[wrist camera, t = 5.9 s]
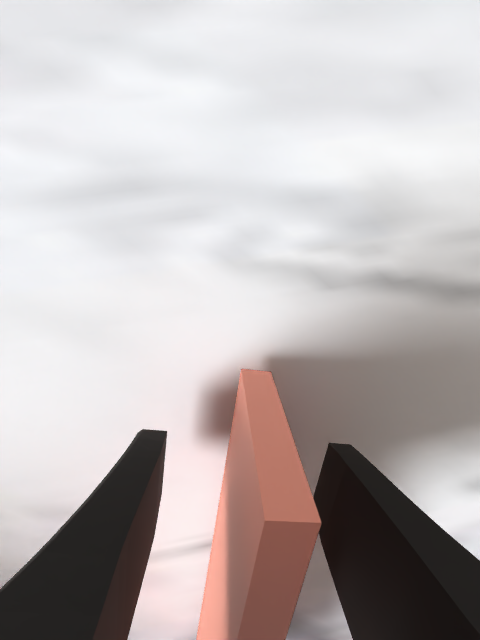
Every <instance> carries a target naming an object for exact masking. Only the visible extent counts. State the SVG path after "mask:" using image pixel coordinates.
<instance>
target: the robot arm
mask: <svg viewBox="0 0 480 640" xmlns="http://www.w3.org/2000/svg"><path fill="white" fill-rule="evenodd" d="M166 438H167V431H159V430H145V429H143V430H141V431H140V432H138V433H137V435H136V437H135V438H134V440H133V441H132V443H131V444H130V445H129V447H128V448H127V450H126V451H125V452H124V454H123V455H122V456H121V458H120V459H119V460H118V462H117V463H116V464H115V465H114V467H113V468H112V469H111V471H110V472H109V473H108V474H107V476H106V477H105V478H104V479H103V480H102V482H101V483H100V484H99V485H98V486H97V488H96V489H95V490H94V491H93V492H92V494H91V495H90V496H89V497H88V498H87V499H86V501H85V502H84V503H83V504H82V505H81V506H80V507H79V509H78V510H77V511H76V512H75V513H74V514H73V515H72V516H71V517H70V518H69V519H68V521H67V522H66V523H65V524H64V525H63V526H62V527H61V528H60V529H59V530H58V531H57V533H56V534H55V535H54V536H53V537H52V538H51V539H50V540H49V541H48V542H47V543H46V544H45V545H44V546H43V547H42V548H41V549H40V550H39V551H38V552H37V554H36V555H35V556H34V557H33V558H32V559H31V560H30V561H29V562H28V563H27V564H26V565H25V566H24V567H23V568H22V569H21V570H20V571H19V572H18V573H17V574H15V575H14V576H13V577H12V578H11V579H10V580H9V581H8V582H7V583H6V584H5V585H4V586H3V587H2V588H1V589H0V640H127V638H128V635H129V631H130V627H131V623H132V619H133V616H134V612H135V608H136V604H137V600H138V597H139V593H140V589H141V585H142V581H143V578H144V574H145V570H146V566H147V562H148V559H149V555H150V551H151V547H152V543H153V539H154V535H155V529H156V523H157V517H158V512H159V506H160V500H161V494H162V483H163V472H164V461H165V449H166ZM313 499H314V502H315V505H316V508H317V511H318V514H319V517H320V520H321V527H320V530H319V535H320V539H321V544H322V547H323V550H324V553H325V556H326V559H327V562H328V566H329V569H330V572H331V575H332V578H333V581H334V584H335V587H336V590H337V593H338V596H339V599H340V602H341V605H342V608H343V611H344V614H345V617H346V620H347V623H348V626H349V629H350V632H351V635H352V638H353V640H480V561H479V560H478V559H477V558H476V557H475V556H473V555H472V554H471V553H470V552H469V551H468V550H466V549H465V548H464V547H463V546H462V545H461V544H459V543H458V542H457V541H456V540H455V539H454V538H452V537H451V536H450V535H449V534H448V533H447V532H445V531H444V530H443V529H442V528H441V527H440V526H439V525H437V524H436V523H435V522H434V521H433V520H432V519H431V518H430V517H428V516H427V515H426V514H425V513H424V512H423V511H422V510H421V509H420V508H419V507H417V506H416V505H415V504H414V503H413V502H412V501H411V500H410V499H409V498H408V497H407V496H406V495H404V494H403V493H402V492H401V491H400V490H399V489H398V488H397V487H396V486H395V485H394V484H393V483H392V482H391V481H390V480H389V479H387V478H386V477H385V476H384V475H383V474H382V473H381V472H380V471H379V470H378V469H377V468H376V467H375V466H374V465H373V464H372V463H370V462H369V461H368V460H367V459H366V458H365V457H364V456H363V455H362V454H361V453H360V452H358V451H357V450H356V449H355V448H354V447H353V446H352V445H349V444H335V443H329V445H328V448H327V452H326V455H325V459H324V462H323V465H322V469H321V472H320V476H319V479H318V483H317V486H316V490H315V493H314V497H313Z"/></svg>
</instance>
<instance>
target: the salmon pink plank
mask: <svg viewBox="0 0 480 640" xmlns="http://www.w3.org/2000/svg"><path fill="white" fill-rule="evenodd" d="M320 527H321V520H320V517H319V514H318V511H317V508H316V505H315V502H314V499H313V496H312V493H311V490H310V487H309V484H308V481H307V478H306V475H305V472H304V469H303V466H302V463H301V460H300V457H299V454H298V451H297V448H296V445H295V442H294V439H293V436H292V433H291V430H290V427H289V424H288V421H287V418H286V415H285V412H284V410H283V407H282V404H281V401H280V398H279V395H278V392H277V389H276V386H275V383H274V380H273V377H272V374H271V372H268V371H258V370H248V369H241V373H240V379H239V385H238V391H237V397H236V403H235V409H234V415H233V421H232V427H231V433H230V439H229V445H228V451H227V457H226V463H225V469H224V475H223V481H222V487H221V493H220V500H219V506H218V512H217V518H216V524H215V530H214V536H213V542H212V548H211V554H210V560H209V566H208V572H207V578H206V584H205V590H204V596H203V602H202V608H201V614H200V620H199V626H198V632H197V638H196V640H285V639H286V636H287V633H288V629H289V626H290V623H291V620H292V617H293V613H294V610H295V607H296V604H297V601H298V597H299V594H300V591H301V588H302V584H303V581H304V578H305V575H306V572H307V568H308V565H309V562H310V559H311V555H312V552H313V549H314V546H315V543H316V539H317V536H318V533H319V530H320Z"/></svg>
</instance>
